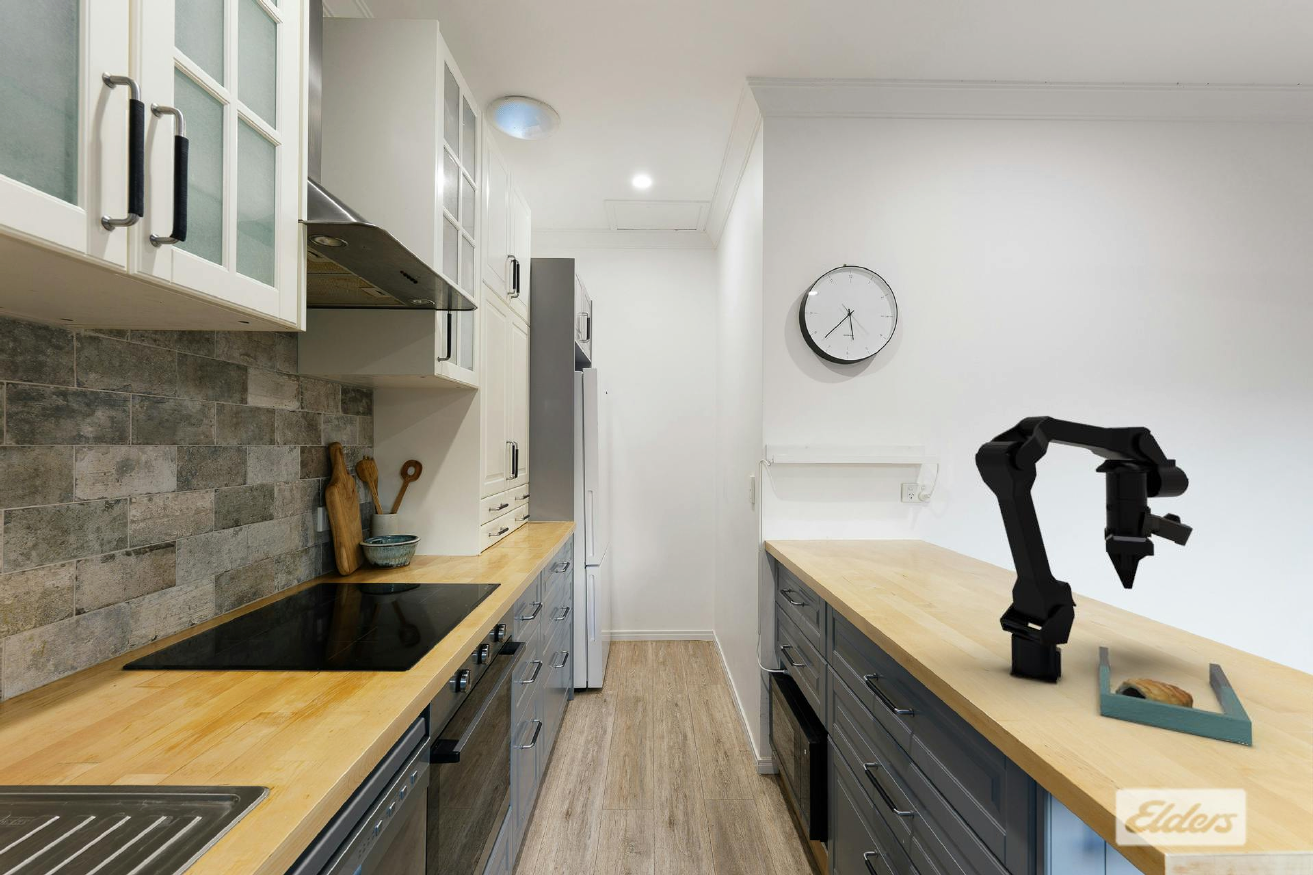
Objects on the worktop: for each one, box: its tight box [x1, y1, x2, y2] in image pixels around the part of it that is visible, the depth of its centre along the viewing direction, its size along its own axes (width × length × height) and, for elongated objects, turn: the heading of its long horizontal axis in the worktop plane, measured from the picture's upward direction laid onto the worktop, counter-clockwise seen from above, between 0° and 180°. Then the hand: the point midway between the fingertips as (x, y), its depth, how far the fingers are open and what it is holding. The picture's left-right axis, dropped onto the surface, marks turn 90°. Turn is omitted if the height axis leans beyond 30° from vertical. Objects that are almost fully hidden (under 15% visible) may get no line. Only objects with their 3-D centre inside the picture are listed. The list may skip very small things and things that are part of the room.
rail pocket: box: [1098, 645, 1253, 746], centre depth 91 cm, size 15×24×3 cm, turn 144°
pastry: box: [1114, 678, 1194, 708], centre depth 88 cm, size 9×7×4 cm
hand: (1127, 588), depth 105 cm, fingers closed
